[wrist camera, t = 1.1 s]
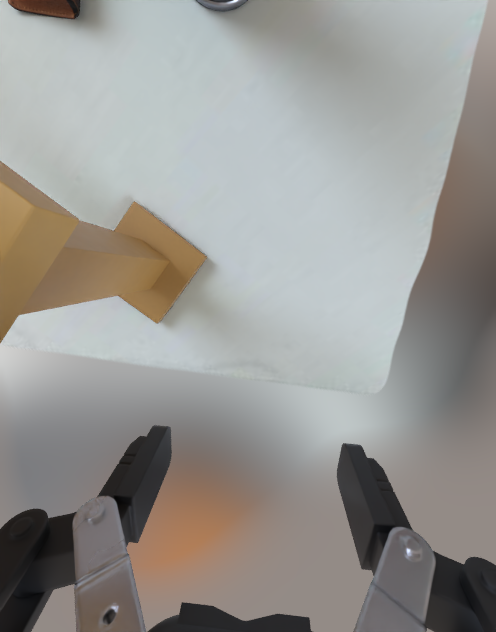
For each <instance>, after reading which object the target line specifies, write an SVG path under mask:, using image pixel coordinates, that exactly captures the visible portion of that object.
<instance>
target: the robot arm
mask: <svg viewBox="0 0 496 632" xmlns="http://www.w3.org/2000/svg"><path fill="white" fill-rule="evenodd" d="M197 1H198V2H199V3H200V4H202V5H203V6H205V7H207V8H210V9H213V10H218V11H227V10H232V9H235V8H237V7H239V6H241V5H242V4H244V3H245V2H246V1H247V0H197ZM171 453H172V450H171V429H170V427H168V426H157V425H154V426H153V427H152V428H151V430H150V432H149V433H148V435H147V437H145V436H140V437H138V438H137V439H136V440H135V441H134V442H132V443H131V444H130V446H129V447H128V449H127V450H126V452H125V453H124V456H123V457H122V458H121V460H120V462H119V464H118V465H117V466H116V468H115V469H114V471H113V473H112V474H111V476H110V477H109V479H108V481H107V482H106V484H105V485H104V487H103V489H102V490H101V492H100V493H99V495H98V496H97V497H96V498H93V499H91V500H89V501H88V502H86V503H85V504H84V505H82V506H81V507H80V509H79V510H78V511H77V512H75V513H72V514H67V515H62V516H57V517H53V518H48V516H47V513H46V512H45V511H44V510H41V509H30V510H27V511H24V512H22V513H20V514H18V515H16V516H15V517H13V518H12V519H10V520H9V521H8V522H7V523H6V524H5V525H4V526H3V527H2V528H1V529H0V632H31V631H32V629H33V627H34V625H35V623H36V621H37V620H38V618H39V616H40V614H41V612H42V610H43V608H44V607H45V605H46V603H47V601H48V599H49V597H50V595H51V593H52V591H53V590H54V589H57V588H61V587H65V586H68V585H71V584H75V586H74V594H75V613H76V631H77V632H146V629H145V624H144V620H143V615H142V611H141V606H140V602H139V597H138V593H137V588H136V583H135V579H134V575H133V570H132V566H131V561H130V557H129V554H128V553H127V549H126V547H127V545H128V543H129V542H134V543H138V541H139V539H140V537H141V534H142V532H143V529H144V527H145V524H146V522H147V519H148V517H149V514H150V512H151V509H152V507H153V505H154V502H155V500H156V497H157V495H158V492H159V490H160V487H161V485H162V482H163V480H164V477H165V475H166V473H167V470H168V468H169V465H170V461H171ZM337 480H338V486H339V489H340V493H341V496H342V500H343V504H344V507H345V511H346V514H347V518H348V521H349V525H350V529H351V532H352V536H353V540H354V543H355V547H356V550H357V554H358V558H359V561H360V565H361V568H362V569H365V570H372V572H373V576H374V578H373V580H372V582H371V584H370V587H369V589H368V592H367V595H366V598H365V601H364V603H363V606H362V609H361V612H360V614H359V617H358V620H357V623H356V626H355V628H354V631H353V632H426V631H427V628H428V629H430V630H432V631H434V632H496V565H494V564H492V563H491V562H489V561H487V560H485V559H482V558H478V557H471V558H468V559H467V560H466V562H465V564H461V563H459V562H456V561H454V560H452V559H449V558H447V557H444V556H442V555H440V554H438V553H436V552H434V551H433V550H432V549H431V547H430V546H429V544H428V543H427V542H426V541H425V540H424V539H423V538H422V537H421V536H420V535H419V534H417V533H416V532H414V531H413V530H412V528H411V526H410V524H409V522H408V520H407V517H406V515H405V513H404V511H403V509H402V507H401V505H400V503H399V501H398V499H397V497H396V495H395V493H394V492H393V488H392V486H391V484H390V482H389V481H388V478H387V476H386V474H385V472H384V470H383V468H382V467H381V466H380V465H379V464H378V463H377V462H376V461H375V460H374V459H372V458H367V457H366V455H365V452H364V450H363V448H362V446H361V445H355V444H346V443H345V444H344V443H343V445H342V448H341V454H340V458H339V463H338V468H337ZM148 632H312V631H311V629H310V620H309V618H308V617H300V616H291V615H283V614H275V615H271V616H266V617H262V618H258V619H254V620H250V621H242V620H240V619H238V618H236V617H234V616H232V615H229V614H227V613H226V612H223V611H222V610H220V609H217V608H216V607H214V606H208V605H200V604H191V603H182V605H181V609H180V613H179V615H176V616H172V617H170V618H167V619H165V620H164V621H162V622H160V623H158V624H157V625H156V626H154V627H153V628H152V629H150V630H149V631H148Z"/></svg>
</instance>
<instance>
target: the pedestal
mask: <svg viewBox="0 0 496 632" xmlns="http://www.w3.org/2000/svg"><path fill="white" fill-rule="evenodd" d="M206 259H207V256H205V255H204V254H203V253H202V252H200V251H199V250H198V249H196V248H195V247H194V246H192V245H191V244H190V243H189V242H187V241H186V240H185V239H183V238H182V237H181V236H179V235H178V234H177V233H176V232H174V231H173V230H172V229H170V228H169V227H168V226H166V225H165V224H164V223H163V222H161V221H160V220H159V219H157V218H156V217H155V216H153V215H152V214H151V213H150V212H148V211H147V210H146V209H144V208H143V207H142V206H140V205H139V204H138V203H136V202H133V204H132V205H131V206H130V208H129V209H128V211H127V212H126V214H125V215H124V217H123V218H122V220H121V221H120V223H119V224H118V226H117V227H116V229H115V230H114V231H112V230H109V229H106V228H102V227H99V226H96V225H93V224H90V223H86V222H83V221H80V220H79V219H78V218H77V217H75V216H74V215H72V214H71V213H70V212H68V211H67V210H66V209H64V208H63V207H62V206H60V205H59V204H58V203H56V202H55V201H54V200H52V199H51V198H49V197H48V196H47V195H45V194H44V193H43V192H41V191H40V190H39V189H37V188H36V187H35V186H33V185H32V184H31V183H29V182H28V181H27V180H25V179H24V178H22V177H21V176H20V175H18V174H17V173H16V172H14V171H13V170H12V169H10V168H9V167H8V166H6V165H5V164H4V163H2V162H1V161H0V343H1V341H2V340H3V338H4V337H5V335H6V334H7V332H8V331H9V329H10V328H11V326H12V324H13V323H14V321H15V320H16V318H17V317H18V315H21V314H26V313H31V312H37V311H42V310H47V309H52V308H57V307H62V306H67V305H72V304H77V303H82V302H87V301H92V300H98V299H103V298H108V297H113V296H119V297H121V298H122V299H123V300H125V301H126V302H128V303H129V304H130V305H132V306H133V307H135V308H136V309H137V310H139V311H140V312H142V313H143V314H144V315H146V316H147V317H149V318H150V319H151V320H153V321H154V322H155V323H159V322H160V321H161V320H162V319H163V317H164V316H165V315H166V313H167V312H168V311H169V309H170V308H171V306H172V305H173V304H174V302H175V301H176V300H177V298H178V297H179V296H180V294H181V293H182V291H183V290H184V289H185V287H186V286H187V285H188V283H189V282H190V281H191V279H192V278H193V276H194V275H195V274H196V272H197V271H198V270H199V268H200V267H201V265H202V264H203V263H204V261H205V260H206Z"/></svg>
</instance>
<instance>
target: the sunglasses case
mask: <svg viewBox="0 0 496 632" xmlns="http://www.w3.org/2000/svg"><path fill="white" fill-rule="evenodd" d="M8 3H9V4H10V5H11V6H12V7H14V8H15V9H17V10H20V11H24V12H29V13H33V14H38V15H44V16H52V17H59V18H67V19H75V18H76V17H78V15H79V11H80V0H8Z"/></svg>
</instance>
